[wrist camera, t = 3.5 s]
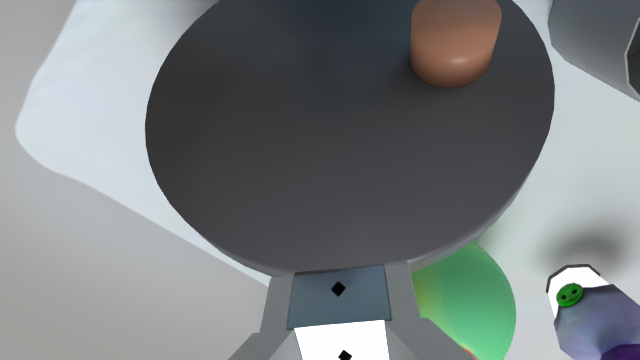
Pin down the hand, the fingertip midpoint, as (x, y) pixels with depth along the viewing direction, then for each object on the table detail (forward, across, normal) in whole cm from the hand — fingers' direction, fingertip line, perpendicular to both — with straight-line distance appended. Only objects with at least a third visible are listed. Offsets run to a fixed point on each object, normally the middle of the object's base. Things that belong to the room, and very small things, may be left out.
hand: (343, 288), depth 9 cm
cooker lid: (+11, 0, -1) cm, 12 cm away
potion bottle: (+28, -21, +29) cm, 46 cm away
